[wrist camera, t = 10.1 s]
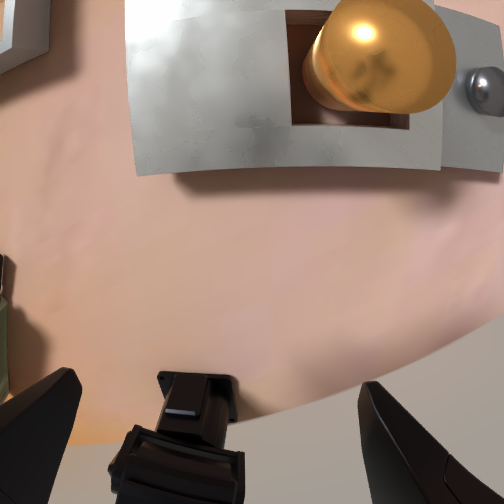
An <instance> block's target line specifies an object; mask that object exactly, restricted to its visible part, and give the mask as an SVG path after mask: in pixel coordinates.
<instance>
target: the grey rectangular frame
mask: <svg viewBox="0 0 504 504" xmlns="http://www.w3.org/2000/svg"><path fill="white" fill-rule="evenodd" d="M50 9H51V0H6V1H5V10H4V20H3V33H2V40H0V75H1V74H3V73H5V72H7V71H9V70H10V69H12V68H14V67H16V66H18V65H20V64H22V63H24V62H27V61H29V60H31V59H33V58H35V57H37V56H40V55H42V54H44V53H46V52H49V29H50Z"/></svg>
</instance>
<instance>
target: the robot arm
mask: <svg viewBox="0 0 504 504" xmlns="http://www.w3.org/2000/svg"><path fill="white" fill-rule="evenodd" d="M157 379H158V382H159V385H160V388H161V390H162V393H163V396H164V398H165V401H164V404H163V407H162V410H161V413H160V416H159V419H158V422H157V425H156V429H155V431H152V430H148V429H145V428H142V426H140V425H137V424H135V425H134V427H133V429H132V431H129V432H128V433H127V435H126V438H125V440H124V443H123V445H122V447H121V449H120V451H119V452H118V454H117V455H116V456H115V458H114V459H113V460H112V462H111V463H110V464H109V466H108V472H109V474H110V476H111V492H112V493H114V494H117V499H116V503H115V504H243V503H244V498H245V453H244V452H240V451H237V452H234V451H230V450H225V449H224V444H225V437H226V431H227V424H228V423H235V422H237V419H238V415H237V409H236V402H235V395H234V388H233V382H232V378H231V377H230V376H228V375H212V374H192V373H177V372H165V371H160V372H159V373H158V375H157ZM225 380H226V381H225ZM81 395H82V385H81V383H80V381H79V379H78V377H77V375H76V373H75V371H74V370H73V369H71V368H66V367H62V368H60V369H58V370H57V371H55V372H53V373H52V374H50V375H48V376H47V377H45V378H44V379H42V380H40V381H39V382H37V383H36V384H34V385H32V386H31V387H29V388H28V389H26V390H24V391H23V392H21V393H19V394H18V395H16V396H15V397H13V398H11V399H10V400H8V401H7V402H5V403H3V404H2V405H0V504H48V501H49V497H50V494H51V491H52V487H53V484H54V481H55V477H56V475H57V472H58V469H59V465H60V463H61V460H62V457H63V454H64V451H65V448H66V445H67V442H68V440H69V437H70V434H71V431H72V428H73V425H74V421H75V417H76V413H77V409H78V406H79V402H80V398H81ZM358 415H359V425H360V434H361V446H362V453H363V458H364V464H365V468H366V473H367V478H368V483H369V488H370V493H371V498H372V503H373V504H504V498H502V497H501V496H500V495H498V494H497V493H495V492H494V491H493V490H492V489H490V488H489V487H488V486H487V485H485V484H484V483H482V482H481V481H480V480H479V479H477V478H476V477H475V476H474V475H473V474H471V473H470V472H469V471H468V470H467V469H466V468H465V467H464V466H462V465H461V464H460V463H459V462H458V461H457V460H456V459H455V458H454V457H453V456H452V455H451V454H449V452H448V451H447V450H446V449H445V448H444V447H443V446H442V445H441V444H440V443H439V442H438V441H437V440H436V439H435V438H434V437H433V436H432V435H431V434H430V433H429V432H428V431H427V430H426V429H425V428H424V427H423V426H422V425H421V424H420V423H419V422H418V421H417V420H416V419H415V418H414V417H413V416H412V415H411V414H410V413H409V412H408V411H407V410H406V409H405V408H404V407H403V406H402V405H401V404H400V403H399V402H398V401H397V400H396V399H395V398H394V397H393V396H392V395H391V394H390V393H389V392H388V391H387V390H386V389H385V388H384V387H383V386H382V385H381V384H380V383H379V382H377V381H367V382H364V383H363V384H362V387H361V390H360V394H359V398H358Z"/></svg>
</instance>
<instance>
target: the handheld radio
mask: <svg viewBox="0 0 504 504" xmlns="http://www.w3.org/2000/svg"><path fill="white" fill-rule="evenodd" d="M2 266H3V256H2V255H1V254H0V291H1V278H2ZM7 306H8V305H7V301H6V299H5V298H4V297H2V296H1V294H0V405H2V404H3V402H4V400H5V399H6V397H7V396H8V394H9V381H8V366H7Z"/></svg>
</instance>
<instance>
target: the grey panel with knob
mask: <svg viewBox="0 0 504 504" xmlns="http://www.w3.org/2000/svg"><path fill="white" fill-rule="evenodd" d="M340 1H341V0H125V39H126V66H127V84H128V98H129V110H130V121H131V131H132V141H133V149H134V158H135V165H136V173H137V177H138V176H147V175H157V174H167V173H178V172H190V171H204V170H219V169H236V168H259V167H295V166H351V167H386V168H408V169H425V170H439V171H440V170H441V166H443V167H454V168H465V169H474V170H483V171H491V172H499V173H503V162H504V60H503V50H502V42H501V34H500V27H499V26H498V25H495V24H493V23H490V22H488V21H485V20H482V19H479V18H476V17H474V16H471V15H468V14H464V13H461V12H458V11H455V10H451V9H448V8H444V7H441V6H437V5H434V0H422V1H424V2H425V3H426V4H427V5H429V6H430V7H431V8H432V9H433V10H434V11H435V12H436V13H437V15H438V16H439V17H440V18H441V20H442V21H443V23H444V24H445V26H446V27H447V29H448V31H449V33H450V35H451V38H452V41H453V44H454V48H455V53H456V74H455V78H454V81H453V84H452V86H451V88H450V90H449V92H448V93H447V95H446V96H445V97H444V98H443V99H442V100H441V101H440V102H439V103H438V104H437V105H435V106H433V107H432V108H430V109H428V110H425V111H422V112H419V113H412V114H399V113H390V126H377V125H358V124H323V123H295V124H292V122H291V99H290V80H289V63H288V47H287V33H286V25H325V23H326V21H327V20H328V18H329V16H330V15H331V13H332V12H333V10H334V8H335V7H336V6H337V4H338V3H339V2H340Z"/></svg>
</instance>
